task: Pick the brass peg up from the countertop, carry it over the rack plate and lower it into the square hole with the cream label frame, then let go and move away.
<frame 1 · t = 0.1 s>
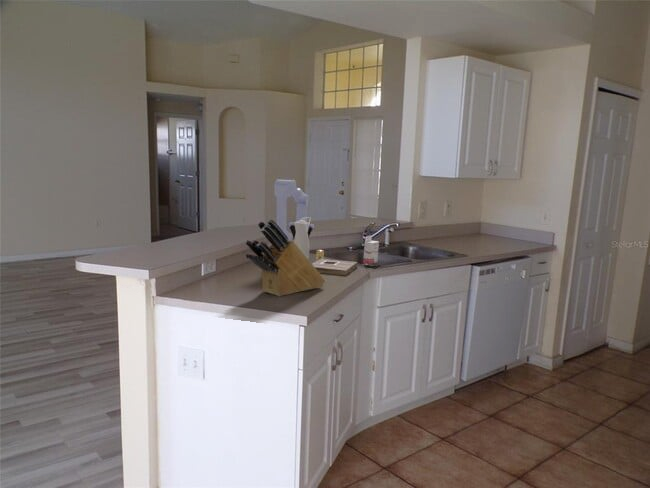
hand: (300, 239, 279), 10 cm above the worktop, fingers open, 7 cm apart
brass peg: (319, 261, 271), on the worktop
rack plate: (332, 269, 252), on the worktop
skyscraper: (300, 276, 233), on the worktop
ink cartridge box: (370, 263, 273), on the worktop
knife block: (285, 291, 206), on the worktop
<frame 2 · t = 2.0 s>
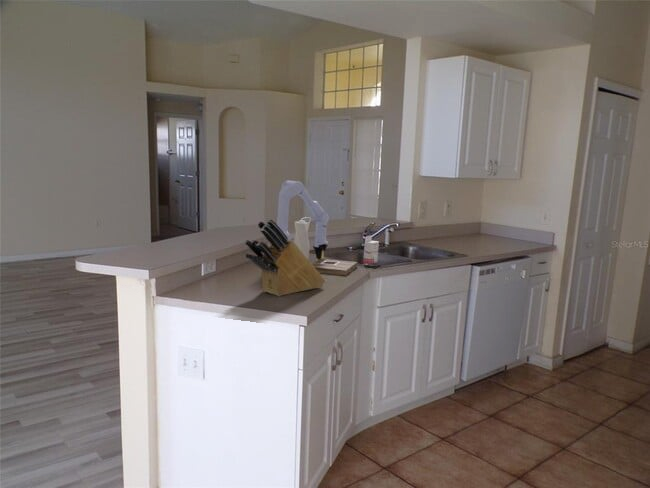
hand: (320, 258, 271), 2 cm above the worktop, fingers closed on brass peg, 4 cm apart
brass peg: (319, 261, 271), on the worktop, touching gripper
everything else where it was.
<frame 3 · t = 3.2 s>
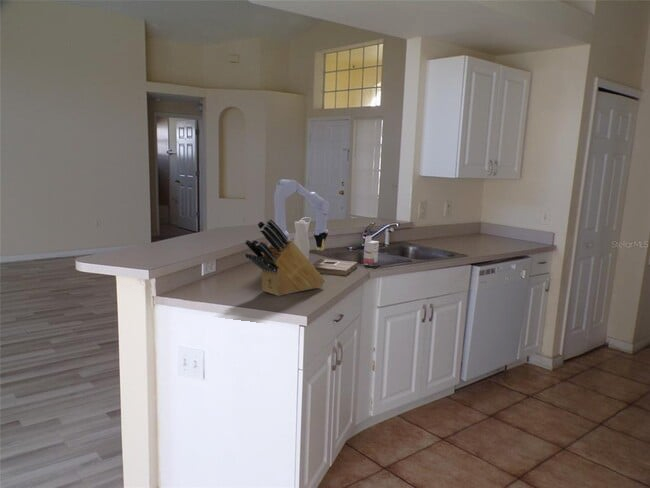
hand: (320, 246, 270), 8 cm above the worktop, fingers closed on brass peg, 4 cm apart
brass peg: (320, 250, 270), point 6 cm above the worktop, touching gripper
everything else where it was.
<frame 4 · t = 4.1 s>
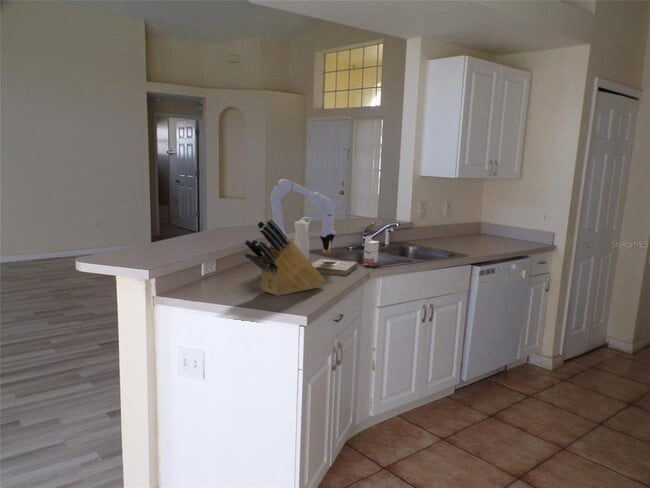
hand: (327, 248, 259), 9 cm above the worktop, fingers closed on brass peg, 4 cm apart
brass peg: (326, 252, 259), point 7 cm above the worktop, touching gripper
everything else where it was.
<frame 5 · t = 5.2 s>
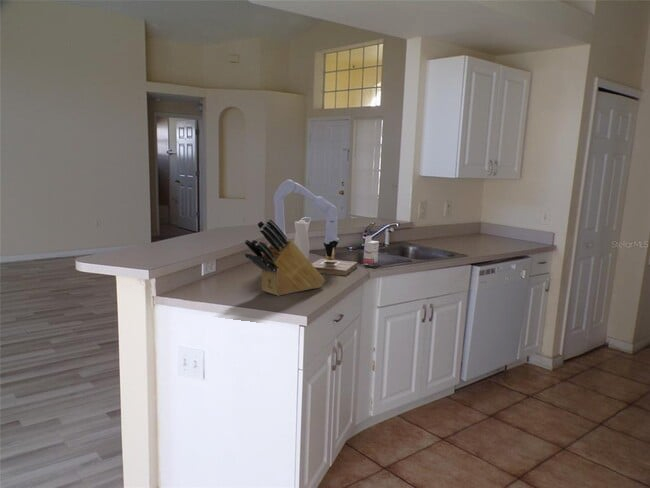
hand: (330, 255, 254), 6 cm above the worktop, fingers closed on brass peg, 4 cm apart
brass peg: (330, 259, 254), point 5 cm above the worktop, touching gripper
everything else where it was.
when the fingers open (3 cm above the worktop, at t = 6.2 s): brass peg drops 2 cm, resting in rack plate.
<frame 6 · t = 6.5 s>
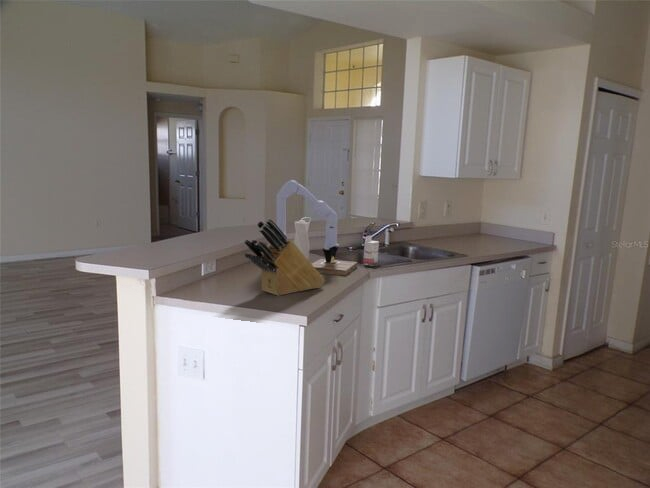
hand: (330, 261, 254), 3 cm above the worktop, fingers open, 6 cm apart
brass peg: (329, 268, 255), resting in rack plate
everything else where it was.
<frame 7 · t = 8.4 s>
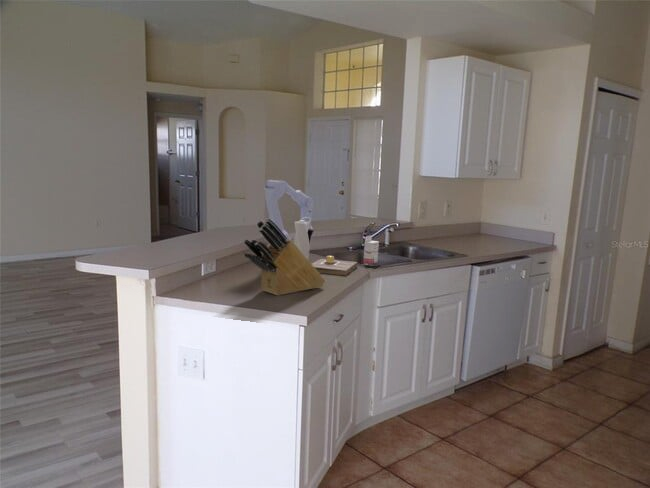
hand: (304, 244, 268), 9 cm above the worktop, fingers open, 7 cm apart
nothing on the worktop moved.
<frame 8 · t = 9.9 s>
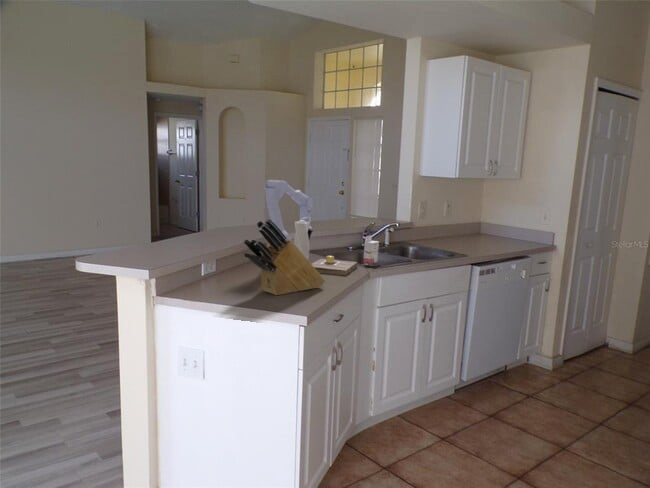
hand: (304, 244, 268), 9 cm above the worktop, fingers open, 7 cm apart
at the end: brass peg 0.1 cm from the target spot on the rack plate, point 0.0 cm above the rack plate's base; brass peg tilted 0°; the gripper is holding nothing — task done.
